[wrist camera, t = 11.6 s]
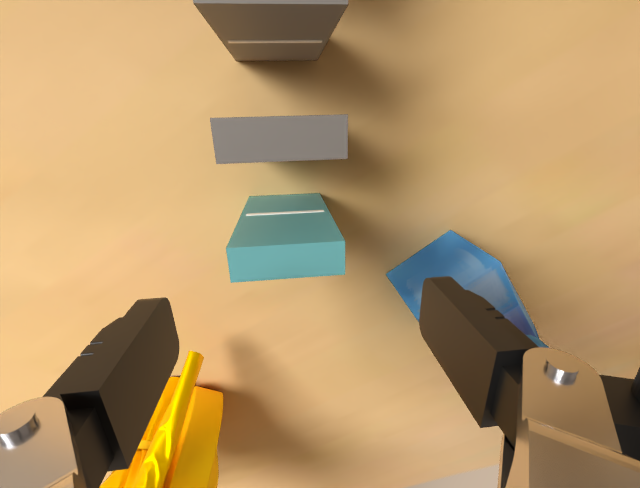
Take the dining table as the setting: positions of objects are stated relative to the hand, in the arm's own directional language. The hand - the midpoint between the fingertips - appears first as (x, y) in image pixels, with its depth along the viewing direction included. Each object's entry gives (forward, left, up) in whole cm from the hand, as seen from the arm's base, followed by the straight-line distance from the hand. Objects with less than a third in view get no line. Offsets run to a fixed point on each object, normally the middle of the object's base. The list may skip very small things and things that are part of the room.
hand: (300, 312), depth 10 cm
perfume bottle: (-12, +7, -14) cm, 20 cm away
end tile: (0, 0, -14) cm, 14 cm away
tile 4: (0, -5, -14) cm, 15 cm away
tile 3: (0, -10, -14) cm, 17 cm away
